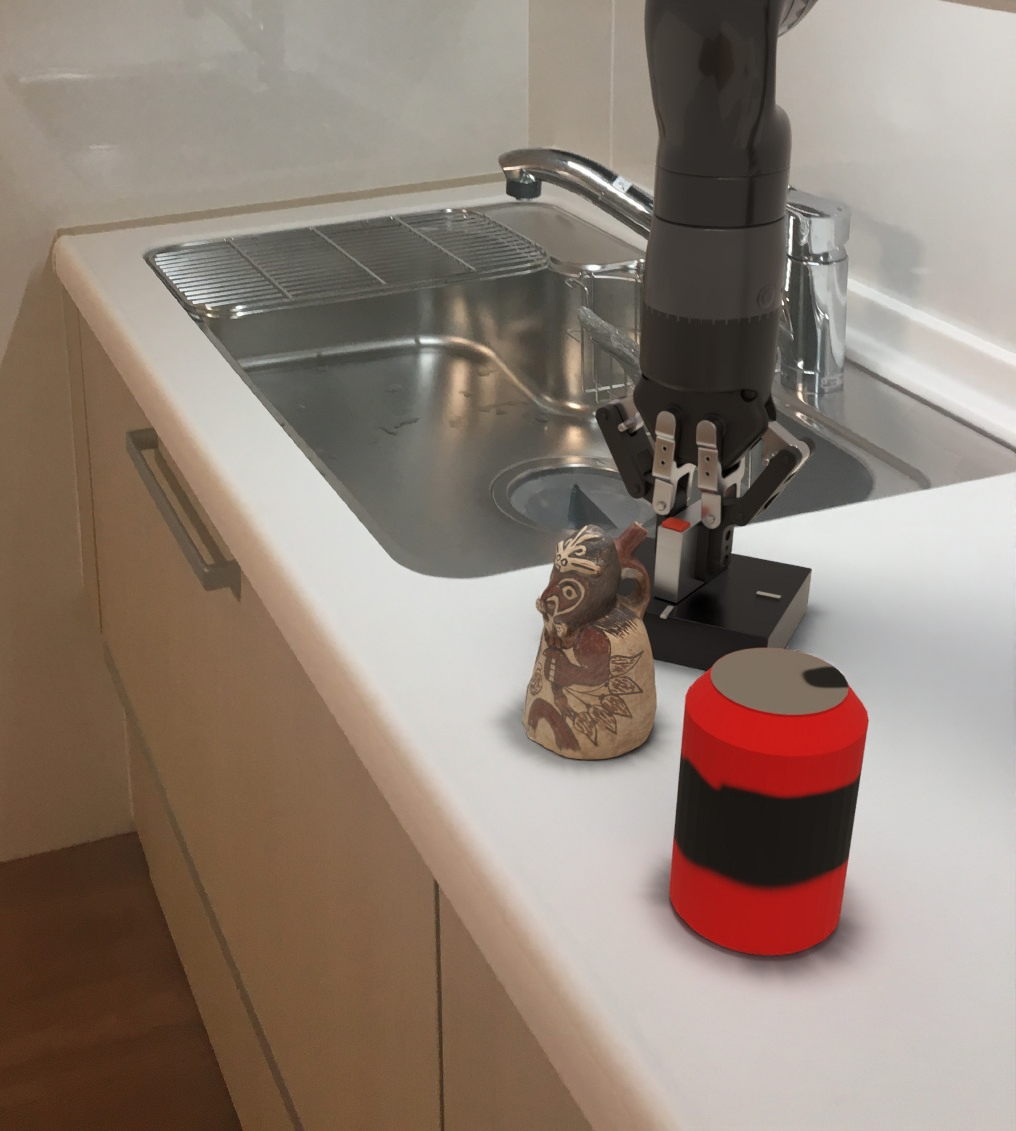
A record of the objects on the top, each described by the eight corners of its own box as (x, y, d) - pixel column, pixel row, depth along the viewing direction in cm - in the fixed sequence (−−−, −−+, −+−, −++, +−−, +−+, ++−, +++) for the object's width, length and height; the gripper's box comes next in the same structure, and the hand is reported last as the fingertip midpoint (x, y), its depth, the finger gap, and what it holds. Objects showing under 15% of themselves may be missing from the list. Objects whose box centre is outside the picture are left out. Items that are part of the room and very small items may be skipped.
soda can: (865, 954, 68) (902, 721, 63) (695, 966, 68) (717, 732, 62) (805, 850, 75) (833, 632, 69) (649, 861, 74) (666, 642, 69)
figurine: (511, 696, 88) (516, 505, 83) (632, 687, 89) (645, 496, 84) (540, 765, 82) (548, 562, 77) (671, 754, 82) (687, 552, 77)
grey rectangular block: (705, 558, 97) (712, 487, 95) (729, 565, 96) (736, 493, 94) (652, 596, 92) (657, 522, 90) (676, 603, 91) (682, 529, 89)
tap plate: (808, 608, 97) (814, 563, 95) (761, 686, 88) (766, 638, 87) (624, 571, 102) (626, 527, 101) (563, 641, 94) (566, 594, 93)
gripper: (860, 296, 84) (826, 580, 92) (638, 260, 93) (623, 522, 100) (798, 332, 79) (767, 628, 87) (570, 290, 88) (560, 564, 95)
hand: (690, 570), depth 94 cm, fingers closed on grey rectangular block
